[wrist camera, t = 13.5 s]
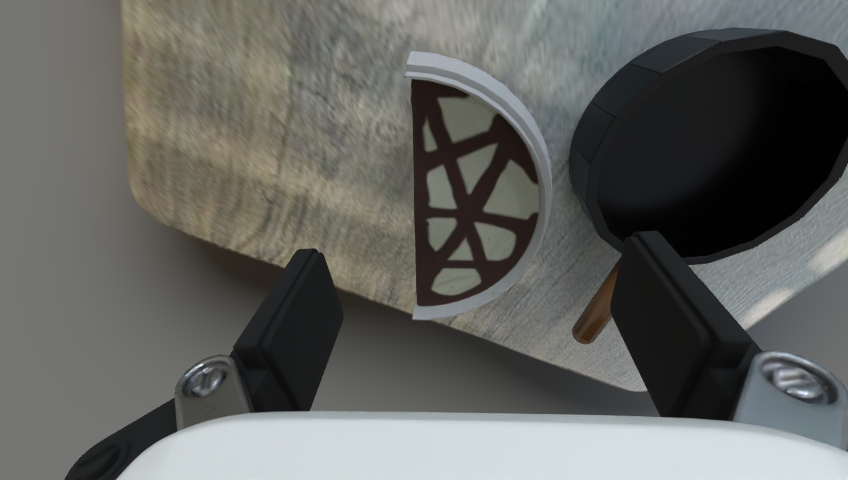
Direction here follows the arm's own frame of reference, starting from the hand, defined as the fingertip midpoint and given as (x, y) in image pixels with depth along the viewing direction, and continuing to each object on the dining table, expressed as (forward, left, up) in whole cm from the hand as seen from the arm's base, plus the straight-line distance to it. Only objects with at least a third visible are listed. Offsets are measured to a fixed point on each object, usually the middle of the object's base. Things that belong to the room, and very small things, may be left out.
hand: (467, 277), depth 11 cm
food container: (0, +1, -14) cm, 14 cm away
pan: (+5, +11, -14) cm, 19 cm away
